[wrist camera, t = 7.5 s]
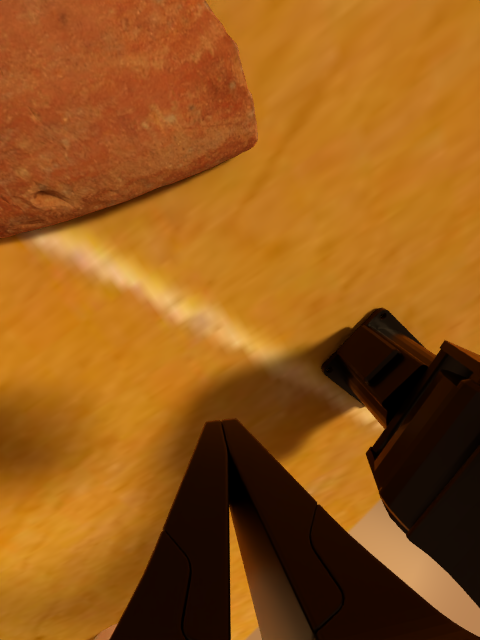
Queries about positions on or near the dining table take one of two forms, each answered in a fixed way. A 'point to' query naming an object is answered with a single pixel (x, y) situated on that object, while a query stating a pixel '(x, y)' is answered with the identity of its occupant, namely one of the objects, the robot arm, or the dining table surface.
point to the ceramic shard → (112, 103)
